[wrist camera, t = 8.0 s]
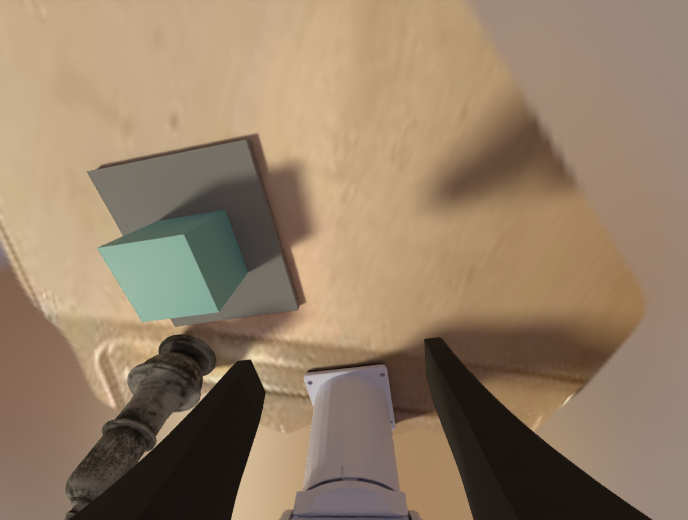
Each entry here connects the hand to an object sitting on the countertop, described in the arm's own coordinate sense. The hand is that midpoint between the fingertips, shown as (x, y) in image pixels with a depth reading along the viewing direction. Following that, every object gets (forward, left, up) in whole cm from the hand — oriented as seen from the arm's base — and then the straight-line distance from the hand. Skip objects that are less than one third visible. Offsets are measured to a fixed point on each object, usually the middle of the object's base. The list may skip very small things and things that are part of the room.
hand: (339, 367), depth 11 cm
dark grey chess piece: (-8, +17, -11) cm, 21 cm away
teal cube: (+3, +10, -10) cm, 14 cm away
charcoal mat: (+3, +10, -10) cm, 15 cm away
